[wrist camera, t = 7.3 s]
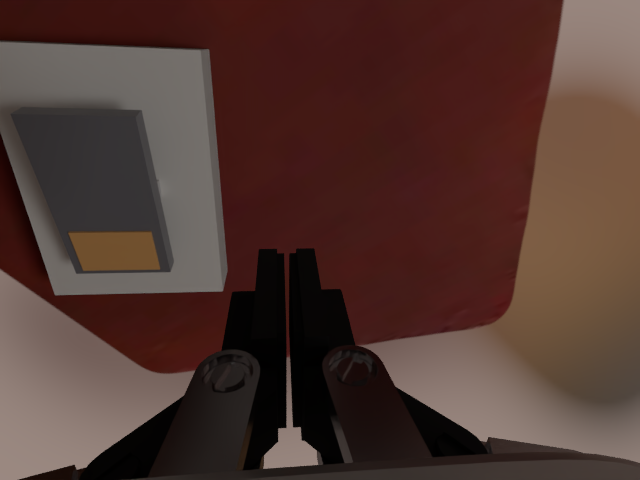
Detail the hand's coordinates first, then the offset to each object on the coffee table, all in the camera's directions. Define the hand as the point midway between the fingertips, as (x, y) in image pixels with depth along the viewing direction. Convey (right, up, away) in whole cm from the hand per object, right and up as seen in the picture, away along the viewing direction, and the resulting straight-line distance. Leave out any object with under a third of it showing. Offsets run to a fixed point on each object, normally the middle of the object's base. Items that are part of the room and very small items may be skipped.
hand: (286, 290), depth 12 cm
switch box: (-17, +8, +25) cm, 31 cm away
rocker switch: (-16, +5, +19) cm, 25 cm away
